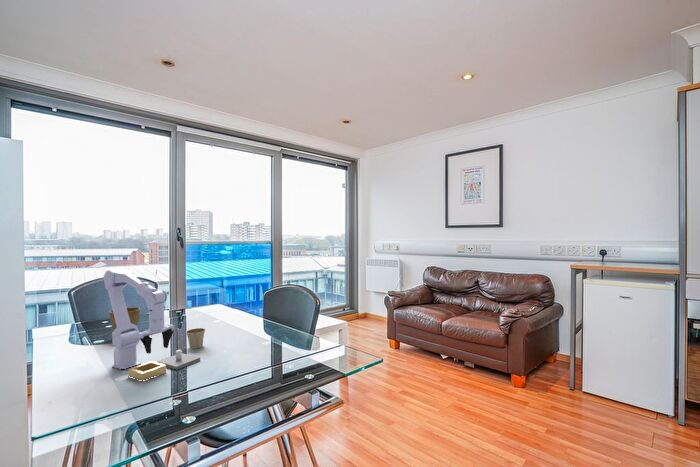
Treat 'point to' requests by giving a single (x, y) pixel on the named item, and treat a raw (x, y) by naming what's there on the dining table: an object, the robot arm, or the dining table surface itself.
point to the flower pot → (195, 337)
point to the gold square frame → (147, 370)
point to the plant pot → (132, 314)
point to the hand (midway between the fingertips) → (157, 350)
